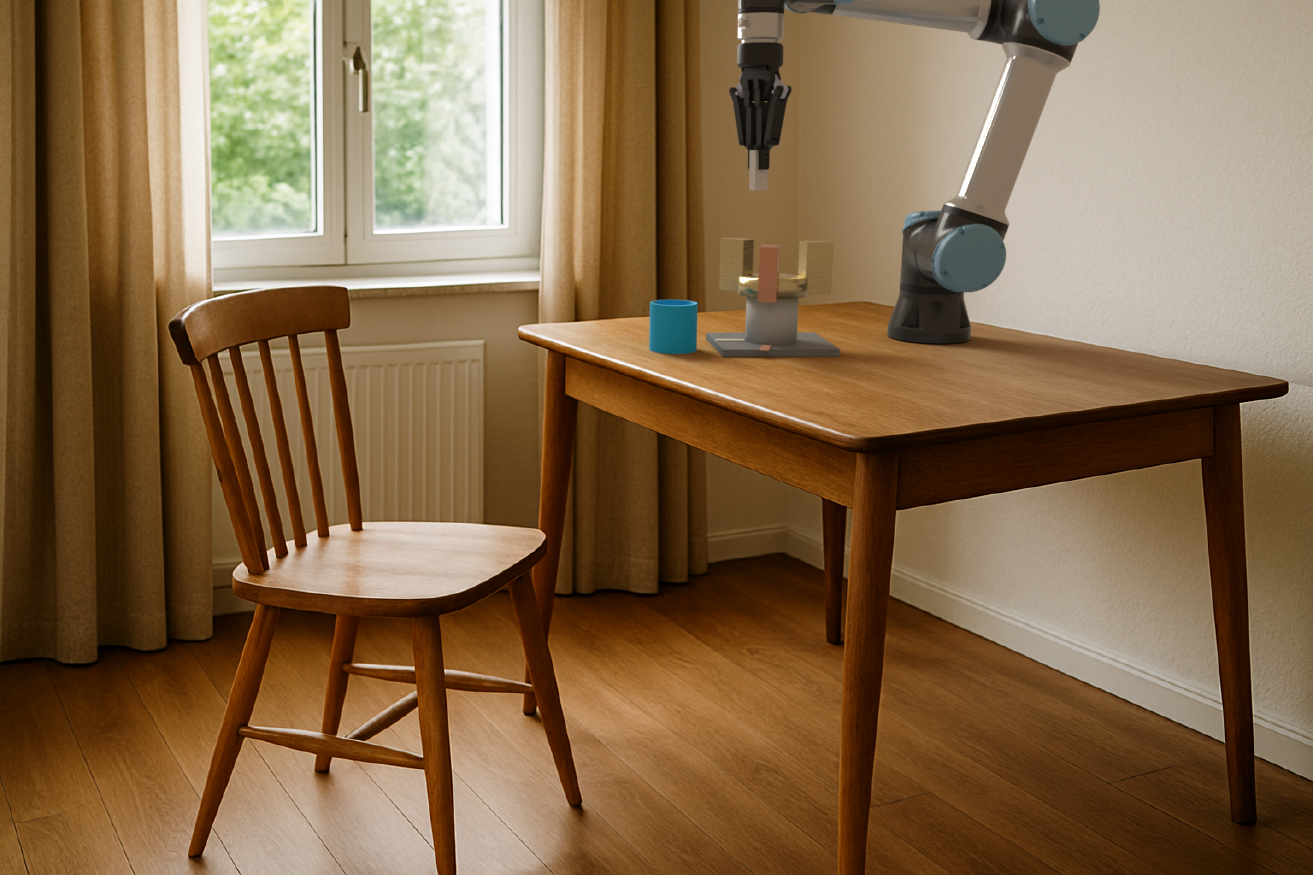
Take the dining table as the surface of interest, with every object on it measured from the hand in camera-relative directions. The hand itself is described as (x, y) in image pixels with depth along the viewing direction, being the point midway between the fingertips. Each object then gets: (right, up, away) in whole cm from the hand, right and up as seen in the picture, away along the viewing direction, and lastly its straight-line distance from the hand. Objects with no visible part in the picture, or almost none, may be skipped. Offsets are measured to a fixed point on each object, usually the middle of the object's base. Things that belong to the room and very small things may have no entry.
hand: (758, 190), depth 209 cm
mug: (-15, -26, +8) cm, 31 cm away
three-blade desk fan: (+3, -17, +6) cm, 18 cm away
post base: (+3, -26, +10) cm, 28 cm away
